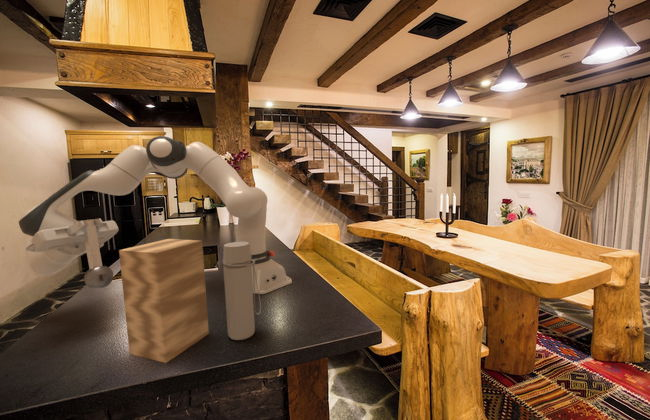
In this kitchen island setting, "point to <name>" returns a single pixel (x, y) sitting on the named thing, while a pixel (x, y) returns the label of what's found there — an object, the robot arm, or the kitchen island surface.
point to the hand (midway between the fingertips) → (92, 221)
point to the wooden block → (164, 297)
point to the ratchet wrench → (95, 259)
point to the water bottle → (239, 290)
